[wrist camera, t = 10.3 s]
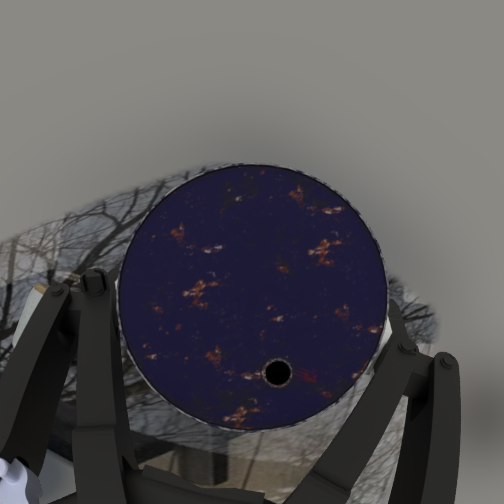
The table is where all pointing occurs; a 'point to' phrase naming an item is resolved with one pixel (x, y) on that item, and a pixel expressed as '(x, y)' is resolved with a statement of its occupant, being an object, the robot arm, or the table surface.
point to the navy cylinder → (252, 297)
